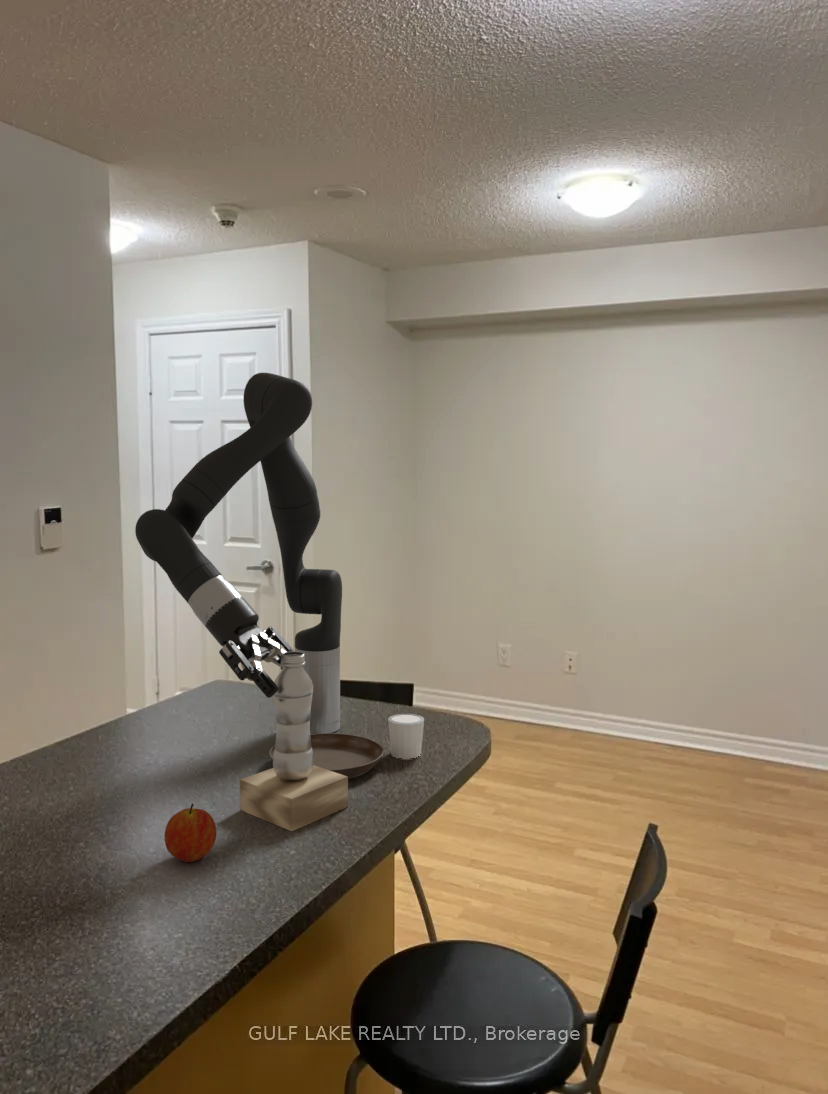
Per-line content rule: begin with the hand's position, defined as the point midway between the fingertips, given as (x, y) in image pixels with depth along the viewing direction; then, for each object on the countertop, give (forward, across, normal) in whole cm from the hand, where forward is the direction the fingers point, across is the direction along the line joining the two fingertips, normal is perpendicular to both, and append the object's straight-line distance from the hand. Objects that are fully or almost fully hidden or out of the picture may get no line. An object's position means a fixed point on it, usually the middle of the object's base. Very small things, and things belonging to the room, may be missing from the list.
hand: (287, 687), depth 133 cm
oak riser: (+15, 0, +13) cm, 20 cm away
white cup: (+20, +30, +8) cm, 37 cm away
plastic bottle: (+11, 0, +10) cm, 15 cm away
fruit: (+11, -21, +17) cm, 29 cm away
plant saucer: (+13, +19, +16) cm, 28 cm away
